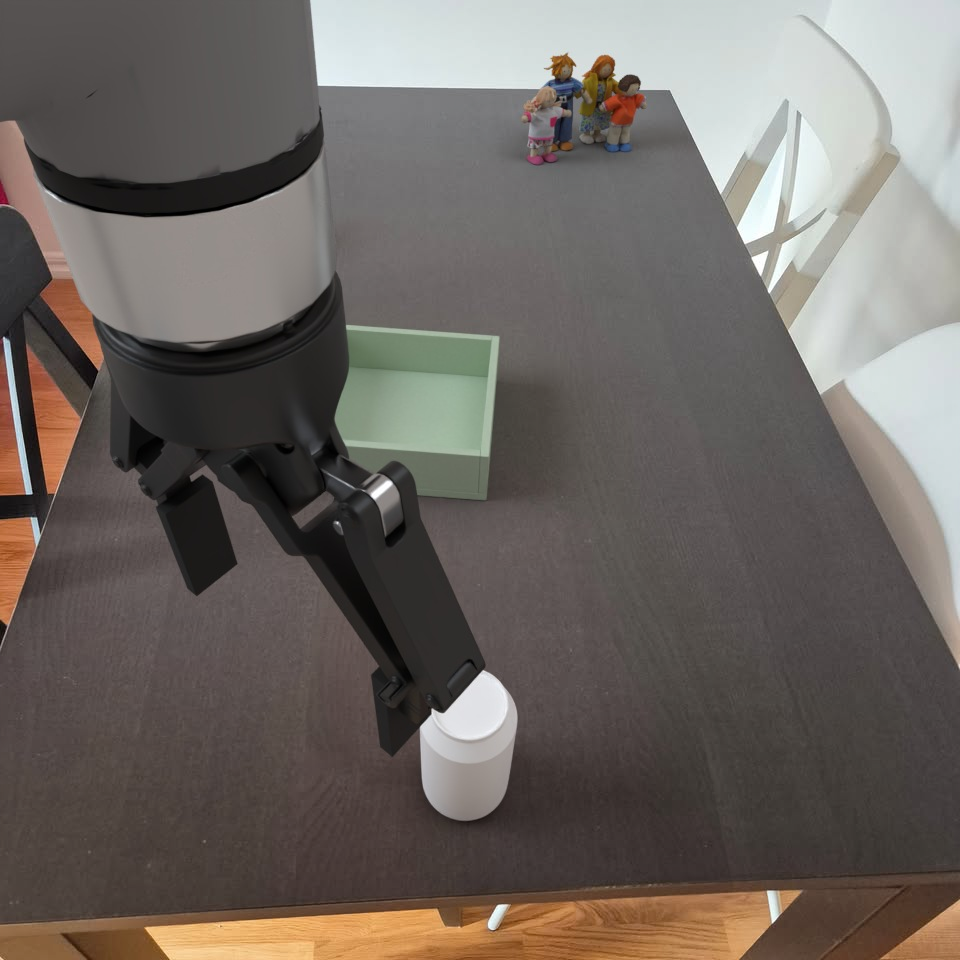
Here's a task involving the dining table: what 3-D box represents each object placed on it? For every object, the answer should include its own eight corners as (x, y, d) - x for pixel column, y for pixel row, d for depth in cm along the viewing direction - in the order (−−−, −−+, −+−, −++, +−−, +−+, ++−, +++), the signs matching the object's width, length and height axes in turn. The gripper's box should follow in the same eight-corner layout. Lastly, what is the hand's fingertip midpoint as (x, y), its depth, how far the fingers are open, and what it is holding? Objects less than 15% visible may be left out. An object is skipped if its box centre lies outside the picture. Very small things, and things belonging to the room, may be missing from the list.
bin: (301, 486, 79) (293, 441, 75) (336, 368, 91) (331, 323, 87) (486, 501, 79) (489, 456, 74) (496, 380, 91) (499, 335, 86)
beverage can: (508, 826, 58) (521, 751, 49) (420, 825, 58) (416, 750, 49) (506, 742, 62) (517, 658, 54) (423, 741, 62) (421, 657, 53)
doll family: (521, 169, 123) (528, 77, 114) (495, 141, 129) (500, 51, 119) (644, 148, 129) (661, 60, 120) (614, 122, 135) (628, 36, 126)
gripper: (630, 396, 22) (554, 744, 38) (83, 118, 32) (200, 484, 48) (452, 569, 18) (448, 880, 34) (-112, 190, 28) (86, 564, 44)
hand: (303, 648), depth 41 cm, fingers open, 13 cm apart
